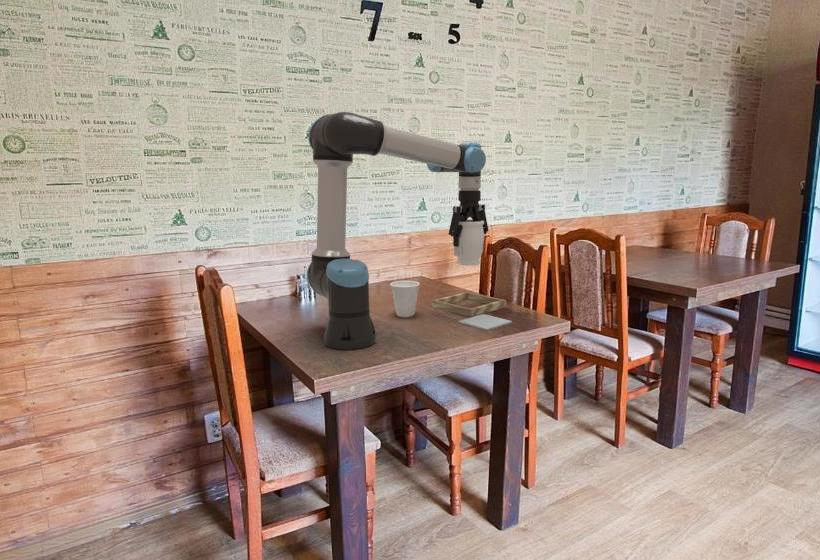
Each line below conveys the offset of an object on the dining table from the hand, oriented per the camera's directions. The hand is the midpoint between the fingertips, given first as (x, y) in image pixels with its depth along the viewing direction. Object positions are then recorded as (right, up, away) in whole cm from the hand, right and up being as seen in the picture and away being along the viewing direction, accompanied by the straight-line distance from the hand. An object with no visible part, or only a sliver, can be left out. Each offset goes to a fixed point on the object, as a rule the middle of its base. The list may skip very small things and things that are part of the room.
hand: (468, 254), depth 192 cm
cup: (-22, -21, -5) cm, 31 cm away
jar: (0, -4, +1) cm, 4 cm away
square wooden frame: (+1, -19, +4) cm, 19 cm away
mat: (+4, -23, -16) cm, 28 cm away
